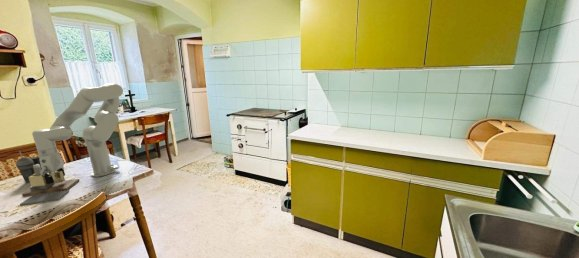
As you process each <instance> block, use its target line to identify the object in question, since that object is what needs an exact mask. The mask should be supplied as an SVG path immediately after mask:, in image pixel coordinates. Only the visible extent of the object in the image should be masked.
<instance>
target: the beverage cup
mask: <svg viewBox="0 0 579 258" xmlns="http://www.w3.org/2000/svg"><path fill="white" fill-rule="evenodd" d="M19 155H20V157H21V158H19V159H18V160H17V161H16V163H15V165H16V167H17V169H18V170H19V173H20V175H21V176H22V178H23V180H24V182H25V183H26V184H30V181H29V178H28V177H30V176H31V175H33V174H35V171H34V168H33V165H34V162H33V160H32V159H31V158H32V157H27V156H26V157H25V156H23V154H22V152H21V150H19Z"/></svg>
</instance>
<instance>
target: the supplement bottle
mask: <svg viewBox="0 0 579 258" xmlns="http://www.w3.org/2000/svg"><path fill="white" fill-rule="evenodd" d="M30 158H31V159H32V160H33V162H34V165H36V164H39V165H40V168H41V164H40V157H39V156H34V157H30ZM41 170H42V168H41Z"/></svg>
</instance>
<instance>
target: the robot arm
mask: <svg viewBox="0 0 579 258" xmlns="http://www.w3.org/2000/svg"><path fill="white" fill-rule="evenodd" d="M123 94H124V88H123V87H122V86H121V85H119V84H118V83H104V84H102V85H101V86H97V87H94V86H93V87H83V88H81V90H79V92H78V93H77V94H76V96H75V97H74V98H73V100H72V101H71V102H70V104H69V105H68V107H67V108H66V109H65V110H64V111H63V112H61V114H60V115H58V117H57V118H56V119H55V120H54V121H53V123H52V125H51V126H50V128H42V129H36V130H33V131H32V134H31V135H32V137H33V141H34V143H35V147H36V151H37V153H38V157H39V158H40V164H41V168H42V170H41V172H40V174H41V175H42V176H43V177H44V178H45V180H46V184H51V183H54V180H53V177H52V176H51V175H52V172H56V171H62V172H63V175H64V177H65V176H66V173H65V167H64V166H65V164H64V160H63V158H62V156H61V154H60V152H59V151H58V148H57V144H56V141H66V140H69V139H71V138H72V137H73V135H74V132H73V130H72V129H71V127H72V124H73V123H74V122H76V121H77V120H78V119H81V118H83V117H84V116H85V115H86V114H87V113H88V111H89V110H90V109H91V107H92V105H93V104H94V103H98V102H99V103H100V102H102V103H101V105H100V107H99V109H98V110H97V112H96V113H95V115H94V117H93V121H94V122H95V124H96V125H89V126H86V127H85V128H84V129H83V131H82V138H83V141H84V143H85V145H86V149H87V152H88V156H89V159H90V164H91V168H92V172H91V173H90V175H91V177H93V178H98V177H100V178H101V177H105V176H108V175H111V174H113V173H114V172H115V171H116V170H119V165H114V163H111V159H110V158H111V157H110V155H109V150H108V146H107V141H108V140H109V139H110V138H111V136H112V134H113V133H114V131H115V130H116V127H118V124H119V121H120V120H119V116H118V115H117V114H116V113H117V112H118V110H119V108H120V103H121V102H120V101H121V99H120V97H121V96H122V95H123ZM47 173H49V175H48V174H47Z"/></svg>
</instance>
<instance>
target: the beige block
mask: <svg viewBox="0 0 579 258" xmlns="http://www.w3.org/2000/svg"><path fill="white" fill-rule="evenodd" d="M47 174H48V175H49V173H47ZM51 176H52V177H53V180H54V183H60V182H63V181H65V180H66V178H65V176H64V175H63V172H62V171H55V172H52V175H51ZM28 178H29V181H30V183H29V184H30V185H31V186H30V187H37V186H45V185H47V184H46V180H45V178H44V177H43V176H42V175H39V176H36V174H33V175H31V176H30V177H28Z"/></svg>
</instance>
